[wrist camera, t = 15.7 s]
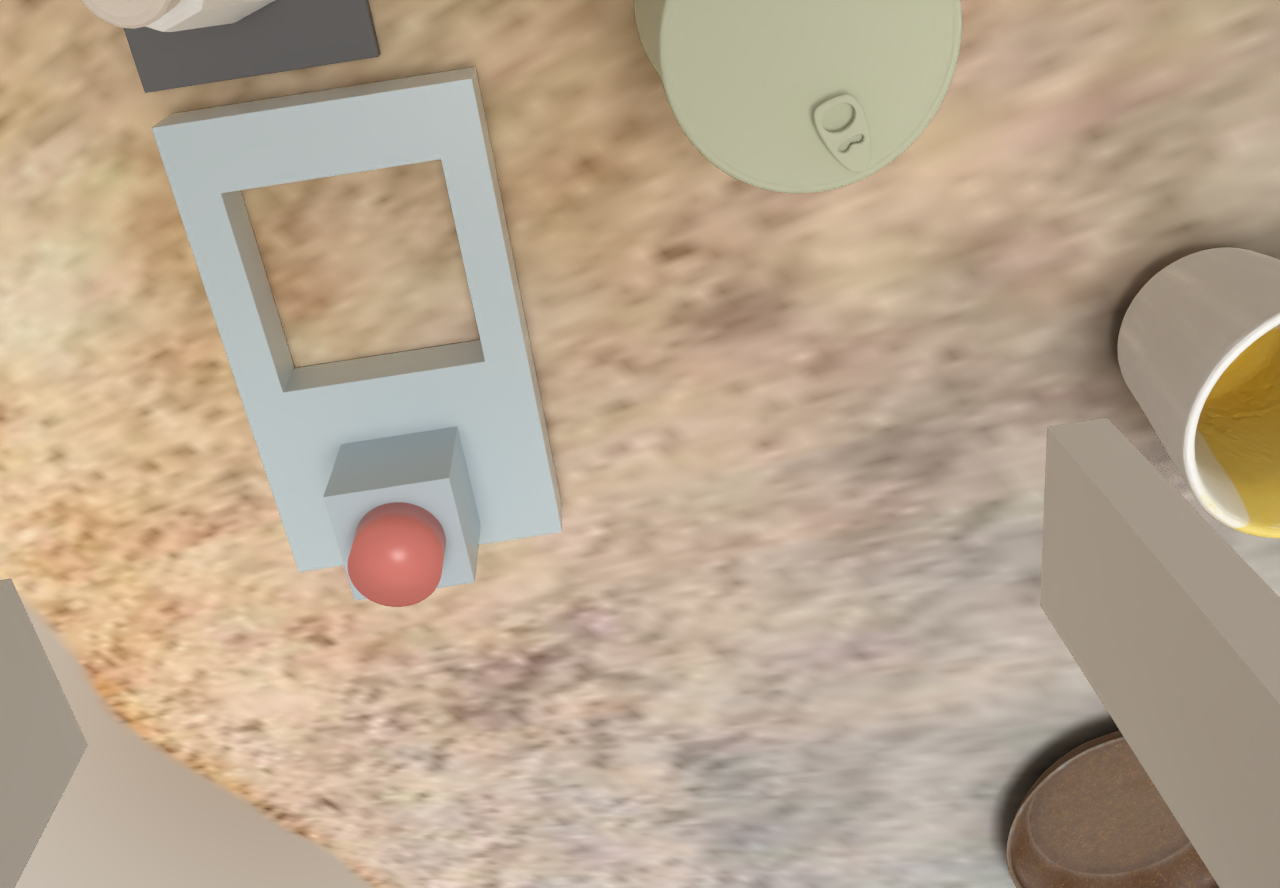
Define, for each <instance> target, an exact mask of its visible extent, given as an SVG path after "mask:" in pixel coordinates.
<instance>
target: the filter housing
mask: <svg viewBox="0 0 1280 888" xmlns="http://www.w3.org/2000/svg"><path fill="white" fill-rule="evenodd" d="M152 131H153V134H154V137H155V140H156V143H157V146H158V149H159V152H160V155H161V158H162V161H163V164H164V167H165V170H166V173H167V176H168V179H169V182H170V185H171V188H172V191H173V194H174V198H175V201H176V204H177V207H178V210H179V213H180V216H181V219H182V222H183V225H184V228H185V231H186V234H187V237H188V240H189V243H190V246H191V249H192V252H193V255H194V258H195V261H196V264H197V267H198V270H199V273H200V276H201V279H202V282H203V285H204V288H205V291H206V294H207V297H208V300H209V303H210V306H211V309H212V312H213V315H214V318H215V321H216V324H217V327H218V330H219V333H220V336H221V339H222V342H223V345H224V348H225V351H226V354H227V357H228V360H229V363H230V366H231V369H232V372H233V375H234V378H235V381H236V384H237V387H238V390H239V393H240V396H241V399H242V402H243V405H244V408H245V411H246V414H247V418H248V421H249V424H250V427H251V430H252V433H253V436H254V439H255V442H256V445H257V448H258V451H259V454H260V457H261V460H262V463H263V466H264V469H265V472H266V475H267V478H268V481H269V484H270V487H271V490H272V493H273V496H274V499H275V502H276V505H277V508H278V511H279V514H280V517H281V520H282V523H283V526H284V529H285V532H286V535H287V538H288V541H289V544H290V547H291V550H292V553H293V556H294V559H295V562H296V565H297V568H298V571H299V572H303V571H309V570H316V569H323V568H329V567H336V566H342V565H344V567H345V570H346V573H347V576H348V580H349V583H350V586H351V589H352V593H353V596H354V599H355V601H356V600H362V599H368V598H366V597H365V596H363V595H362V594H361V593H360V592H359V591H358V590H357V589H356V588H355V586H354V585H353V583H352V582H351V580H350V577H349V574H348V567H347V565H348V558H349V554H350V551H351V547H352V544H353V540H354V537H355V533H356V529H357V527H358V524H359V522H360V521H361V519H362V518H363V517H364V516H365V515H366V514H367V513H368V512H369V511H371V510H372V509H374V508H376V507H378V506H380V505H383V504H387V503H394V502H403V503H410V504H414V505H417V506H419V507H422V508H423V509H425V510H427V511H428V512H430V513H431V514H432V515H433V516H435V518H436V519H437V520H438V521H439V522H440V524H441V526H442V528H443V530H444V533H445V537H446V547H445V554H444V561H443V568H442V574H441V579H440V582H439V584H438V586H437V588H441V587H448V586H454V585H461V584H467V583H474V582H475V575H476V566H477V556H478V547H479V545H480V544H487V543H493V542H500V541H506V540H513V539H520V538H526V537H533V536H539V535H546V534H552V533H559V532H562V503H561V498H560V493H559V488H558V483H557V478H556V473H555V467H554V462H553V457H552V452H551V447H550V442H549V437H548V432H547V427H546V422H545V417H544V412H543V407H542V401H541V396H540V391H539V386H538V381H537V376H536V371H535V366H534V361H533V356H532V351H531V346H530V341H529V335H528V330H527V325H526V320H525V315H524V310H523V305H522V300H521V295H520V290H519V285H518V280H517V274H516V269H515V264H514V259H513V254H512V249H511V244H510V239H509V234H508V229H507V224H506V219H505V214H504V208H503V203H502V198H501V193H500V188H499V183H498V178H497V173H496V168H495V163H494V158H493V153H492V147H491V142H490V137H489V132H488V127H487V122H486V117H485V112H484V107H483V102H482V97H481V92H480V87H479V81H478V76H477V71H476V67H471V68H464V69H458V70H451V71H445V72H438V73H432V74H425V75H419V76H412V77H406V78H399V79H393V80H386V81H380V82H373V83H367V84H361V85H354V86H348V87H341V88H335V89H328V90H322V91H315V92H309V93H302V94H296V95H289V96H283V97H276V98H270V99H263V100H257V101H250V102H244V103H238V104H231V105H225V106H218V107H212V108H205V109H199V110H192V111H186V112H179V113H173V114H170V115H169V116H167V117H166V118H165V119H163V120H162V121H161V122H159V123H158V124H156V125H155V126H154V127H152ZM440 159H441V162H442V167H443V171H444V176H445V180H446V185H447V189H448V194H449V199H450V203H451V208H452V212H453V217H454V221H455V226H456V231H457V235H458V240H459V244H460V249H461V254H462V258H463V263H464V267H465V272H466V276H467V281H468V286H469V290H470V295H471V299H472V304H473V308H474V313H475V318H476V322H477V327H478V331H479V336H480V340H476V341H469V342H462V343H456V344H449V345H443V346H436V347H430V348H423V349H417V350H410V351H404V352H397V353H391V354H384V355H378V356H371V357H365V358H358V359H352V360H345V361H338V362H332V363H325V364H319V365H312V366H306V367H299V368H295V367H294V364H293V361H292V358H291V354H290V351H289V348H288V344H287V341H286V338H285V335H284V331H283V328H282V325H281V321H280V318H279V315H278V311H277V308H276V305H275V302H274V298H273V295H272V292H271V288H270V285H269V282H268V279H267V275H266V272H265V269H264V265H263V262H262V259H261V255H260V252H259V249H258V246H257V242H256V239H255V236H254V232H253V229H252V226H251V223H250V219H249V216H248V213H247V209H246V206H245V203H244V199H243V196H242V193H241V190H245V189H252V188H258V187H265V186H271V185H278V184H284V183H291V182H297V181H304V180H310V179H317V178H323V177H330V176H336V175H343V174H349V173H356V172H362V171H369V170H375V169H382V168H388V167H395V166H401V165H408V164H414V163H421V162H427V161H434V160H440Z"/></svg>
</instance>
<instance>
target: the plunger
mask: <svg viewBox="0 0 1280 888" xmlns="http://www.w3.org/2000/svg"><path fill="white" fill-rule="evenodd" d="M445 547H446V537H445V533H444V530H443V528H442V526H441V524H440V522H439V521H438V520H437V519H436V518H435V516H433V515H432V514H431V513H430V512H428V511H427V510H425V509H423V508H422V507H419V506H417V505H414V504H410V503H403V502H394V503H387V504H383V505H380V506H378V507H376V508H374V509H372V510H371V511H369V512H368V513H367V514H366V515H365V516H364V517H363V518H362V519H361V521H360V522H359V524H358V527H357V529H356V533H355V537H354V540H353V544H352V547H351V551H350V554H349V558H348V565H347V567H348V574H349V577H350V580H351V582H352V583H353V585H354V586H355V588H356V589H357V590H358V591H359V592H360V593H361V594H362V595H363V596H365V597H366V598H368V599H369V600H371V601H373V602H375V603H378V604H381V605H385V606H392V607H402V606H409V605H413V604H416V603H418V602H420V601H422V600H424V599H426V598H427V597H428V596H430V595H431V594H432V593H433V592H434V590H435V589H436V588H437V586H438V584H439V582H440V579H441V574H442V568H443V561H444V554H445Z"/></svg>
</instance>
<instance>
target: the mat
mask: <svg viewBox="0 0 1280 888" xmlns="http://www.w3.org/2000/svg"><path fill="white" fill-rule="evenodd" d="M124 31H125V34H126V37H127V40H128V43H129V46H130V49H131V52H132V55H133V58H134V61H135V64H136V67H137V70H138V73H139V76H140V79H141V82H142V85H143V88H144V91H145V93H146V92H153V91H159V90H166V89H172V88H179V87H185V86H192V85H198V84H205V83H211V82H217V81H224V80H230V79H237V78H243V77H250V76H256V75H263V74H269V73H276V72H282V71H289V70H295V69H302V68H308V67H314V66H321V65H327V64H334V63H340V62H347V61H353V60H360V59H366V58H373V57H379V55H380V50H379V45H378V41H377V37H376V32H375V28H374V24H373V20H372V15H371V11H370V7H369V2H368V0H275V1H273V2H271V3H269V4H268V5H266V6H264V7H262V8H260V9H259V10H257V11H255V12H253V13H251V14H250V15H248V16H246V17H244V18H242V19H241V20H239V21H237V22H235V23H231V24H224V25H217V26H210V27H203V28H196V29H189V30H182V31H175V32H162V31H158V30H155V29H152V28H149V27H140V28H135V29H132V28H124Z"/></svg>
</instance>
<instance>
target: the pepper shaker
mask: <svg viewBox="0 0 1280 888" xmlns="http://www.w3.org/2000/svg"><path fill="white" fill-rule="evenodd" d="M81 1H82V3H83V4H84V6H85V7H86V8H87V9H89V10H90V11H91V12H92V13H93V14H94V15H95V16H96V17H98V18H100V19H101V20H103V21H105V22H106V23H108V24H111V25H114V26H117V27H120V28H132V29H135V28H140V27H149V28H152V29H155V30H158V31H162V32H175V31H182V30H189V29H196V28H203V27H210V26H217V25H224V24H231V23H235V22H237V21H239V20H241V19H242V18H244V17H246V16H248V15H250V14H251V13H253V12H255V11H257V10H259V9H260V8H262V7H264V6H266V5H268V4H269V3H271V2H273V1H275V0H81Z"/></svg>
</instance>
